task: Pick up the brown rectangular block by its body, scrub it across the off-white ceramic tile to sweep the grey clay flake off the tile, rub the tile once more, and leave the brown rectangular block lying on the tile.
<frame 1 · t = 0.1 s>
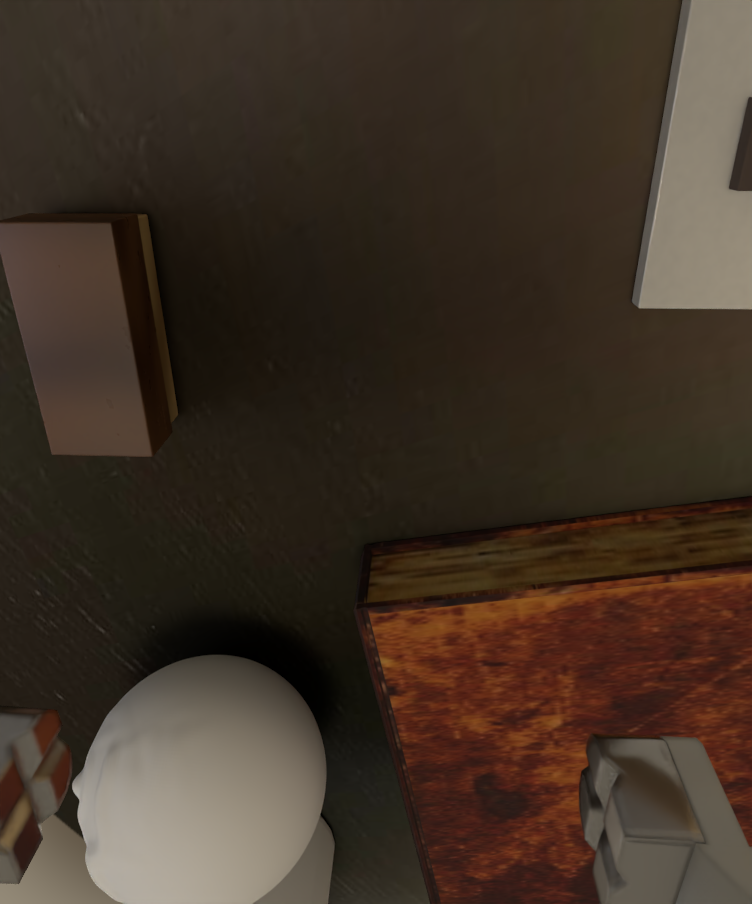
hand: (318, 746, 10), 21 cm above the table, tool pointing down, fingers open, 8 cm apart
decorative ball: (238, 684, 39), on the table
mug: (274, 843, 46), on the table
book: (611, 725, 39), on the table
brown rectangular block: (120, 320, 29), on the table
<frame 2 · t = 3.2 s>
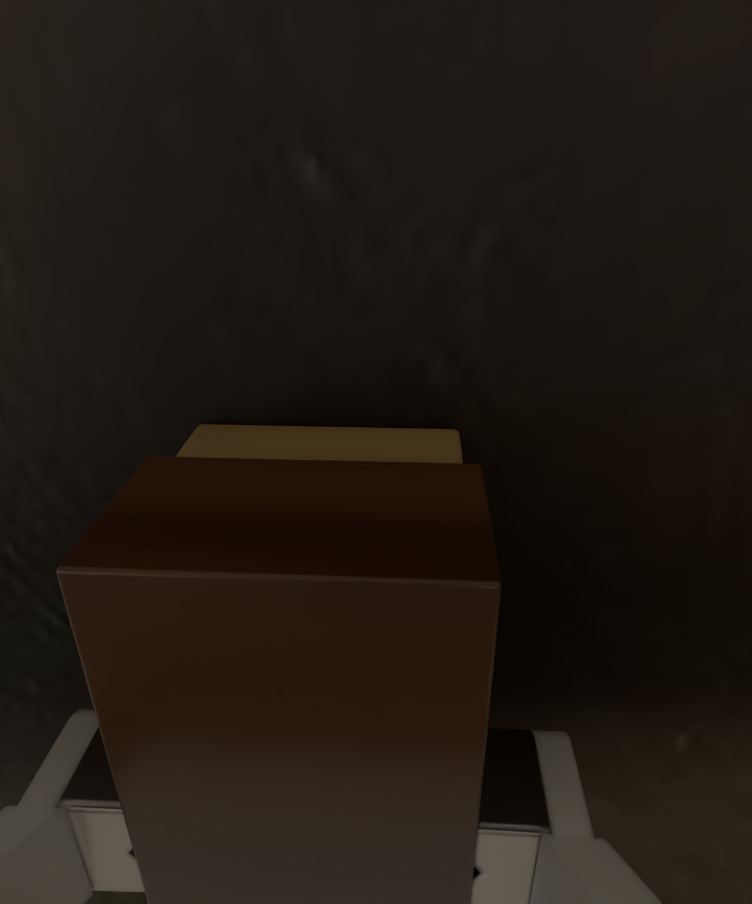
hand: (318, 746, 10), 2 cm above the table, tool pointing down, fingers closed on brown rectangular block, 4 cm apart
brown rectangular block: (337, 649, 12), on the table, touching gripper
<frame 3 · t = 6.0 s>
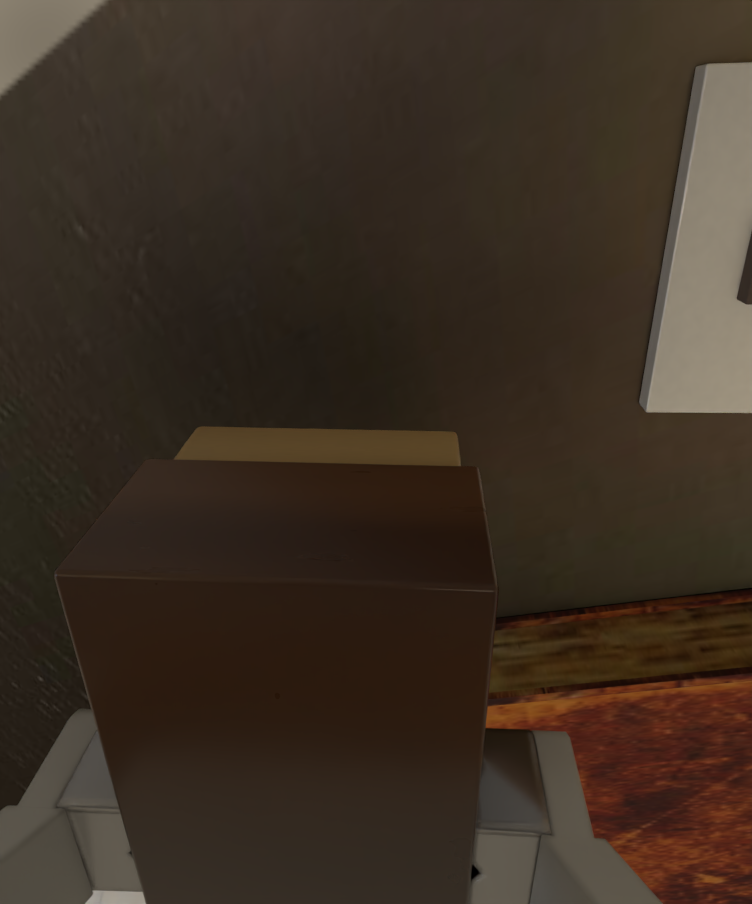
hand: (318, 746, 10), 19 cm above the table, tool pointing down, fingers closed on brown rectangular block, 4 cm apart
decorative ball: (243, 765, 39), on the table
book: (622, 804, 38), on the table
brown rectangular block: (335, 650, 12), point 17 cm above the table, touching gripper
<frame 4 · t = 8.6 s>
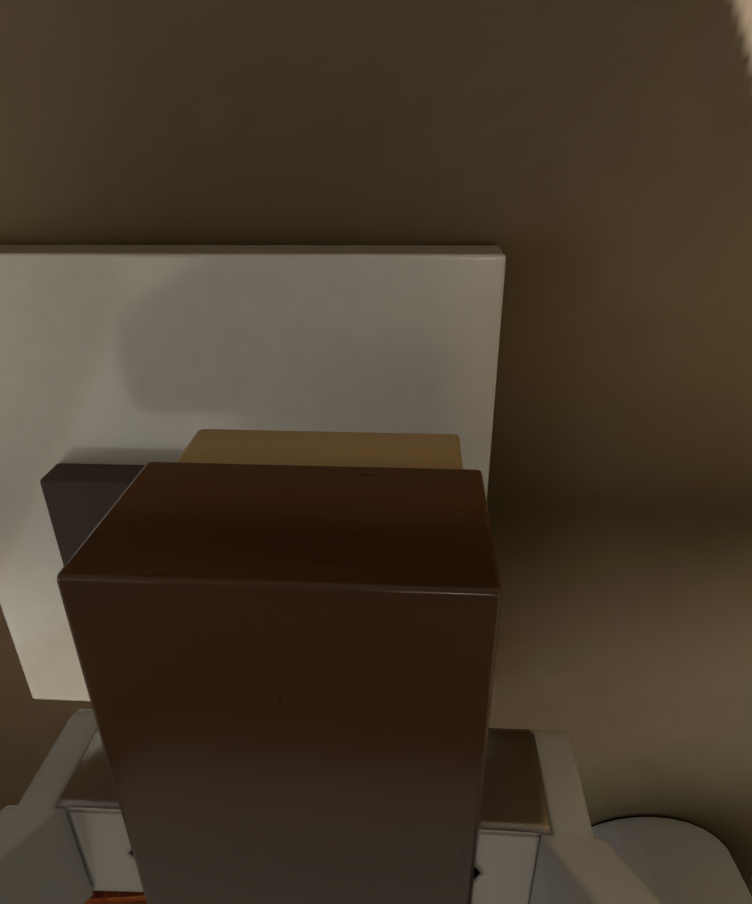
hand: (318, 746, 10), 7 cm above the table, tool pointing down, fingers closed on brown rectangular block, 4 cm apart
crumb: (135, 521, 15), point 1 cm above the table, touching tile
tile: (231, 500, 16), on the table
coffee cup: (636, 866, 22), on the table
brown rectangular block: (337, 653, 12), point 4 cm above the table, touching gripper
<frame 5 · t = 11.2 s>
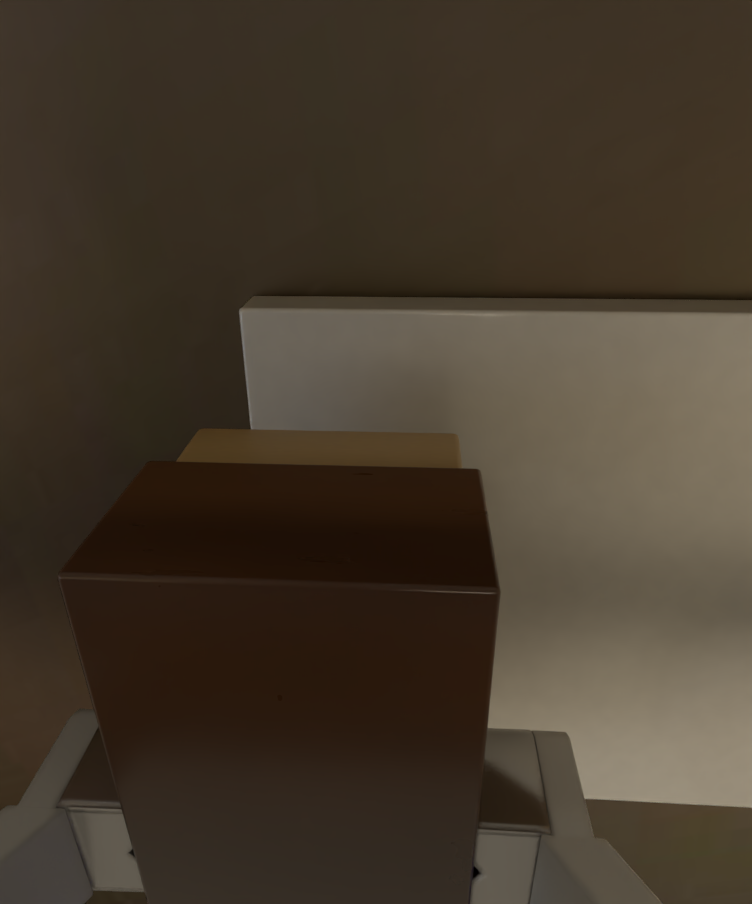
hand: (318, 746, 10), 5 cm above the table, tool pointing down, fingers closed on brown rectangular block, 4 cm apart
tile: (547, 572, 14), on the table
brown rectangular block: (337, 652, 12), point 3 cm above the table, touching gripper
when the fingers open (3 cm above the table, at t = 14.3 s): brown rectangular block stays where it is, resting on tile.
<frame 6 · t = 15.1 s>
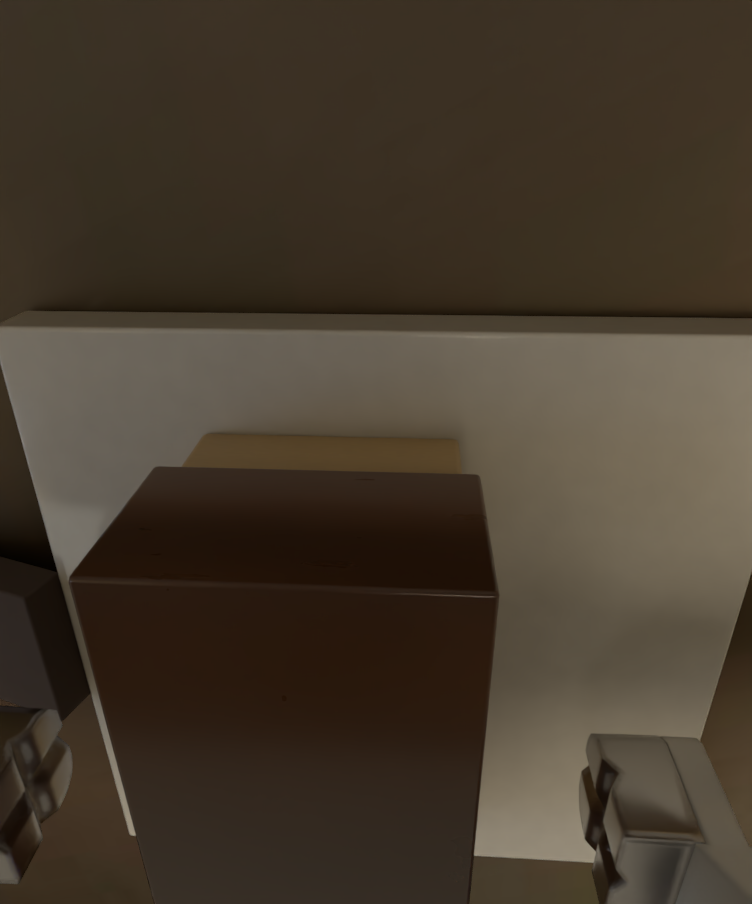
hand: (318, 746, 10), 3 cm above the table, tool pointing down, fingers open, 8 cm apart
crumb: (17, 616, 13), on the table, tilted 17°, touching tile
tile: (392, 613, 13), on the table
brown rectangular block: (338, 653, 12), point 1 cm above the table, touching tile
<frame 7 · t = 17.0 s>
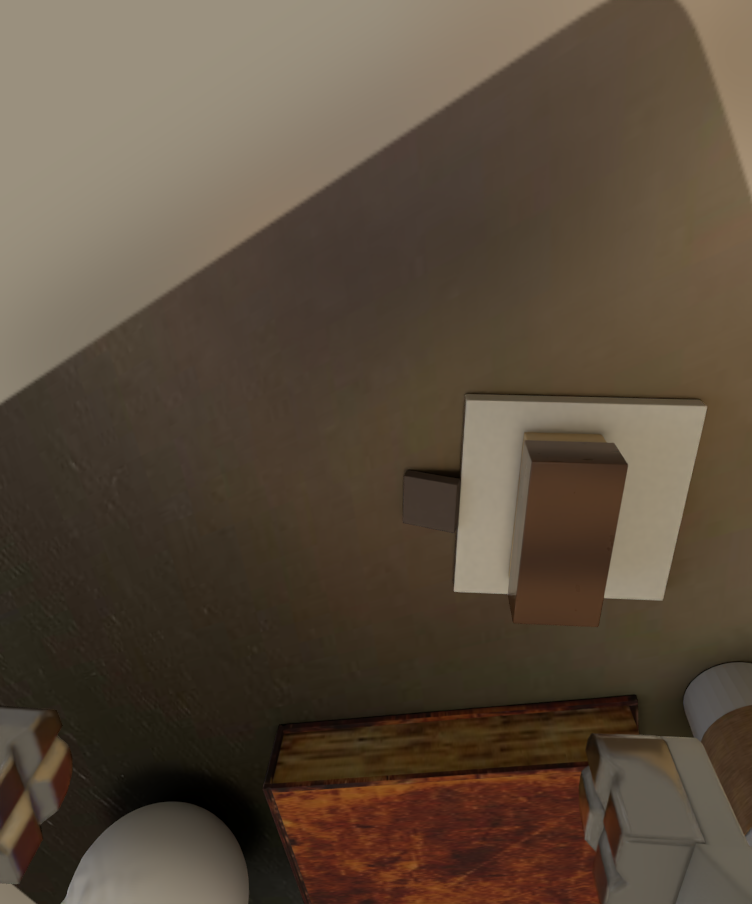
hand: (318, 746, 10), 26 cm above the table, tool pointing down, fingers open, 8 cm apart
crumb: (433, 498, 37), on the table, tilted 17°, touching tile
decorative ball: (188, 817, 51), on the table
book: (475, 852, 50), on the table
tile: (567, 497, 37), on the table
coffee cup: (729, 694, 42), on the table
brown rectangular block: (552, 508, 36), point 1 cm above the table, touching tile
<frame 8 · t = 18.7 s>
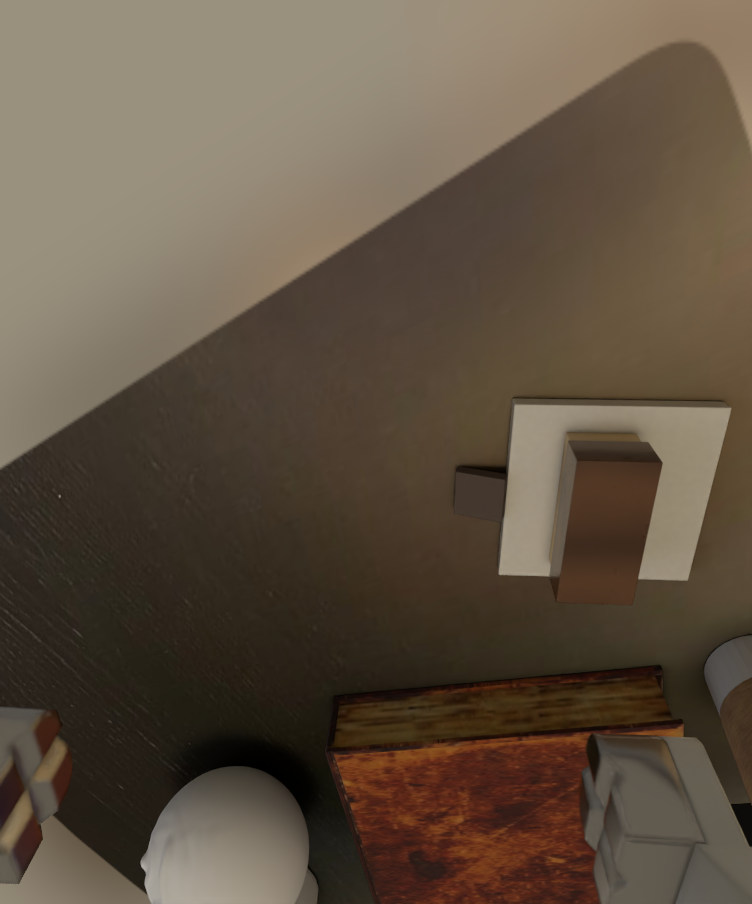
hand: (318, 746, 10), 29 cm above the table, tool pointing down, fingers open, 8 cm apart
crumb: (481, 491, 41), on the table, tilted 17°, touching tile
decorative ball: (248, 780, 55), on the table
mug: (274, 887, 62), on the table
book: (510, 809, 55), on the table
tile: (602, 489, 41), on the table
coffee cup: (746, 664, 46), on the table
brown rectangular block: (590, 499, 40), point 1 cm above the table, touching tile
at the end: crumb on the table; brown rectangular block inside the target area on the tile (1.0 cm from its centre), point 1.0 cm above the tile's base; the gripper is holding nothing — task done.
